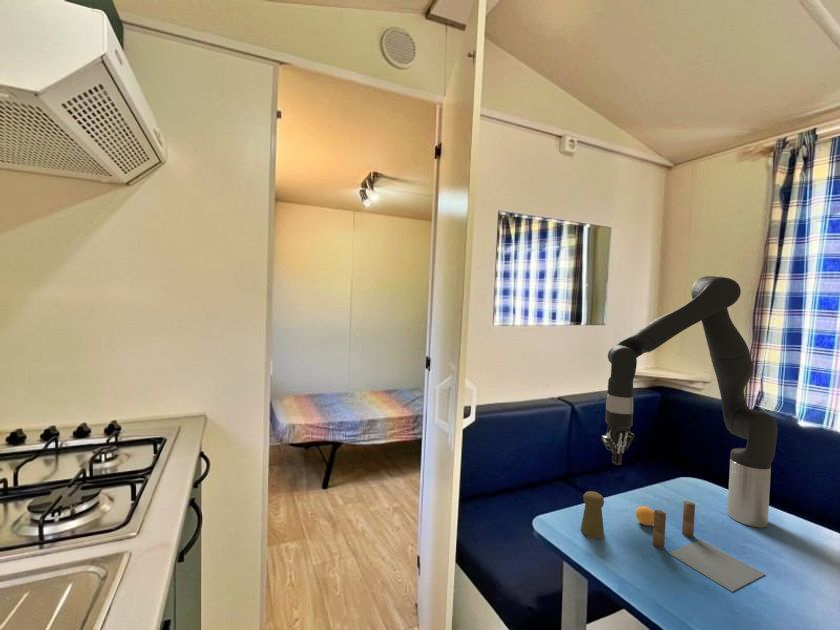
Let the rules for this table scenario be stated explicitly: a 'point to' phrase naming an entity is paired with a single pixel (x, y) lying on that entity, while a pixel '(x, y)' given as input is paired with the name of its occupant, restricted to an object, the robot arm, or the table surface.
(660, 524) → the post
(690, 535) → the post
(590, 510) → the brown pawn
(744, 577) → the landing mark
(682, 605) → the table surface
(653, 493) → the table surface
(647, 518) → the ball
